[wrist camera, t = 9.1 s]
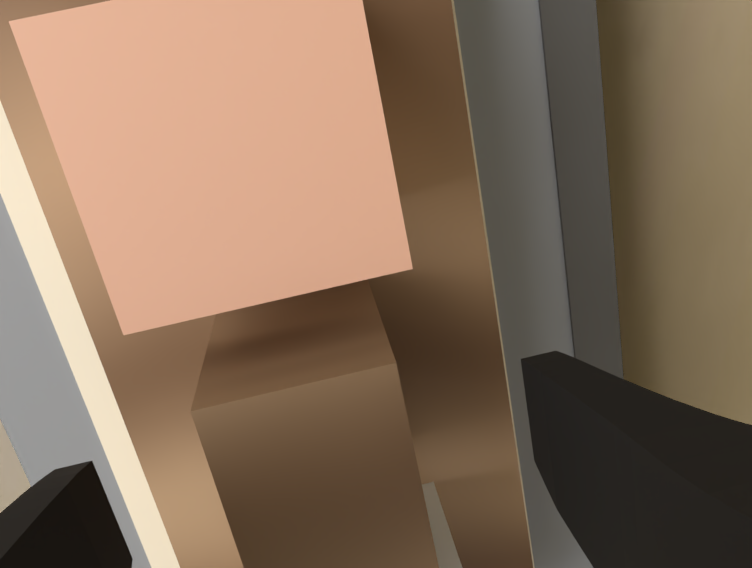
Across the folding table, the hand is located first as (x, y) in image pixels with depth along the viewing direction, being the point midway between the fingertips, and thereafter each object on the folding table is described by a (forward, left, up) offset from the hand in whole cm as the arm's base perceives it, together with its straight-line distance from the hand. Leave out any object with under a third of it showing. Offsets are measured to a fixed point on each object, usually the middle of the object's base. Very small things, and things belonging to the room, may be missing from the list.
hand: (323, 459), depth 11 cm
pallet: (0, 0, -5) cm, 5 cm away
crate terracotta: (+5, 0, -3) cm, 6 cm away
